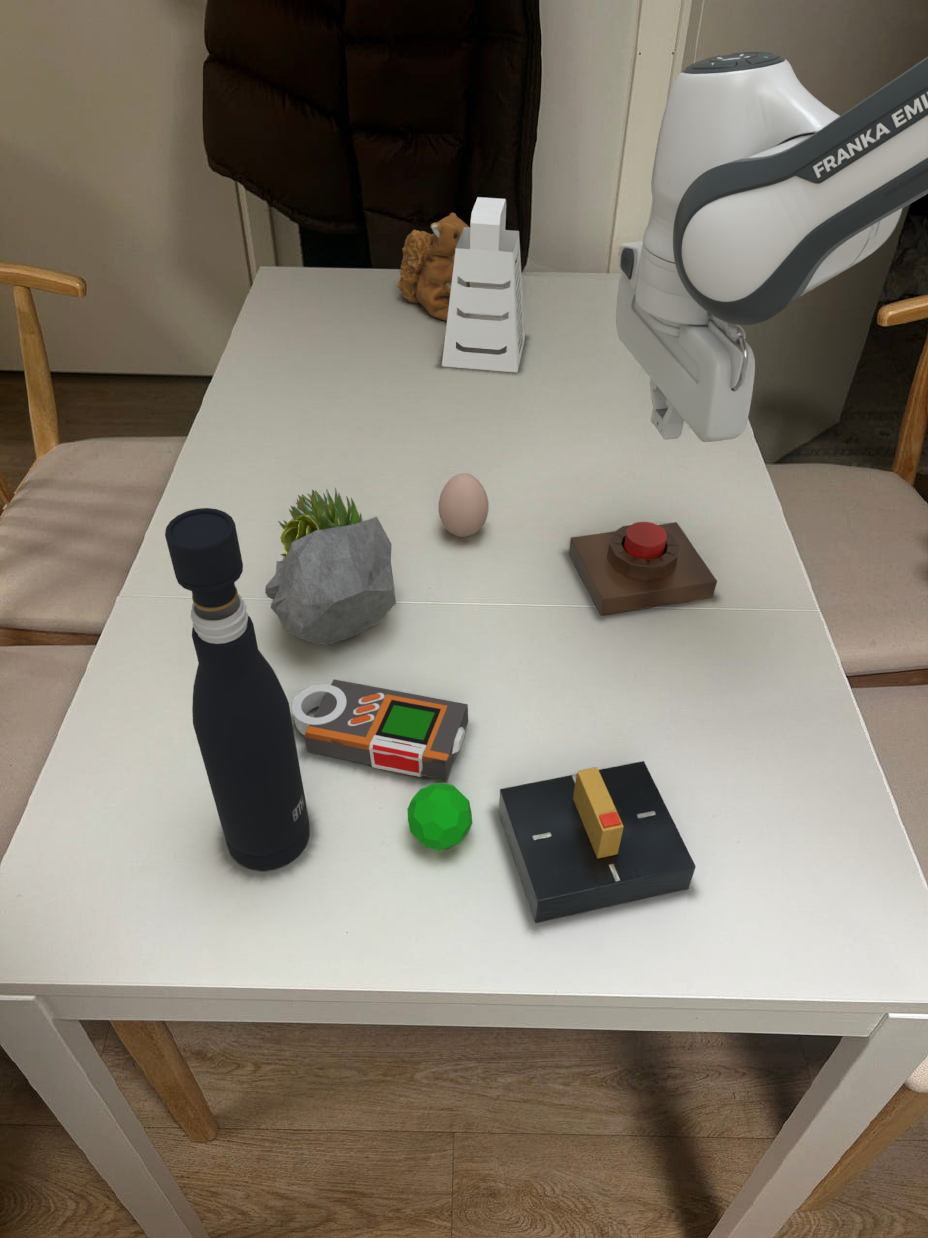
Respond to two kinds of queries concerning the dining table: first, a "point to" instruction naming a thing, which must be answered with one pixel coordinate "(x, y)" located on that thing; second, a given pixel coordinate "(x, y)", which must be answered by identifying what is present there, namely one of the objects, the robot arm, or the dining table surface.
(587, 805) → the tap handle
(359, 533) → the potted plant
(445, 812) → the polyhedron
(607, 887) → the block
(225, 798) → the insulated water bottle
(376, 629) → the dining table surface
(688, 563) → the button block
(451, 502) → the egg
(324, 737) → the electronic device
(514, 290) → the grater
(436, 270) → the stuffed squirrel
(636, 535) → the button
